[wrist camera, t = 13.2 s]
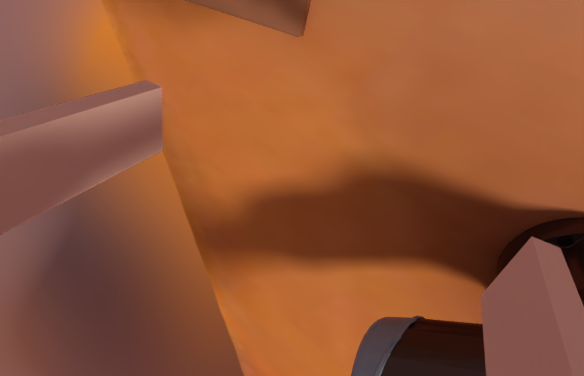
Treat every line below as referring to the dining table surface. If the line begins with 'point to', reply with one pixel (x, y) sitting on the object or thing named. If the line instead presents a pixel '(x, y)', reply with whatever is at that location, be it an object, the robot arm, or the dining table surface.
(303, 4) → the board
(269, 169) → the dining table surface
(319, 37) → the dining table surface
